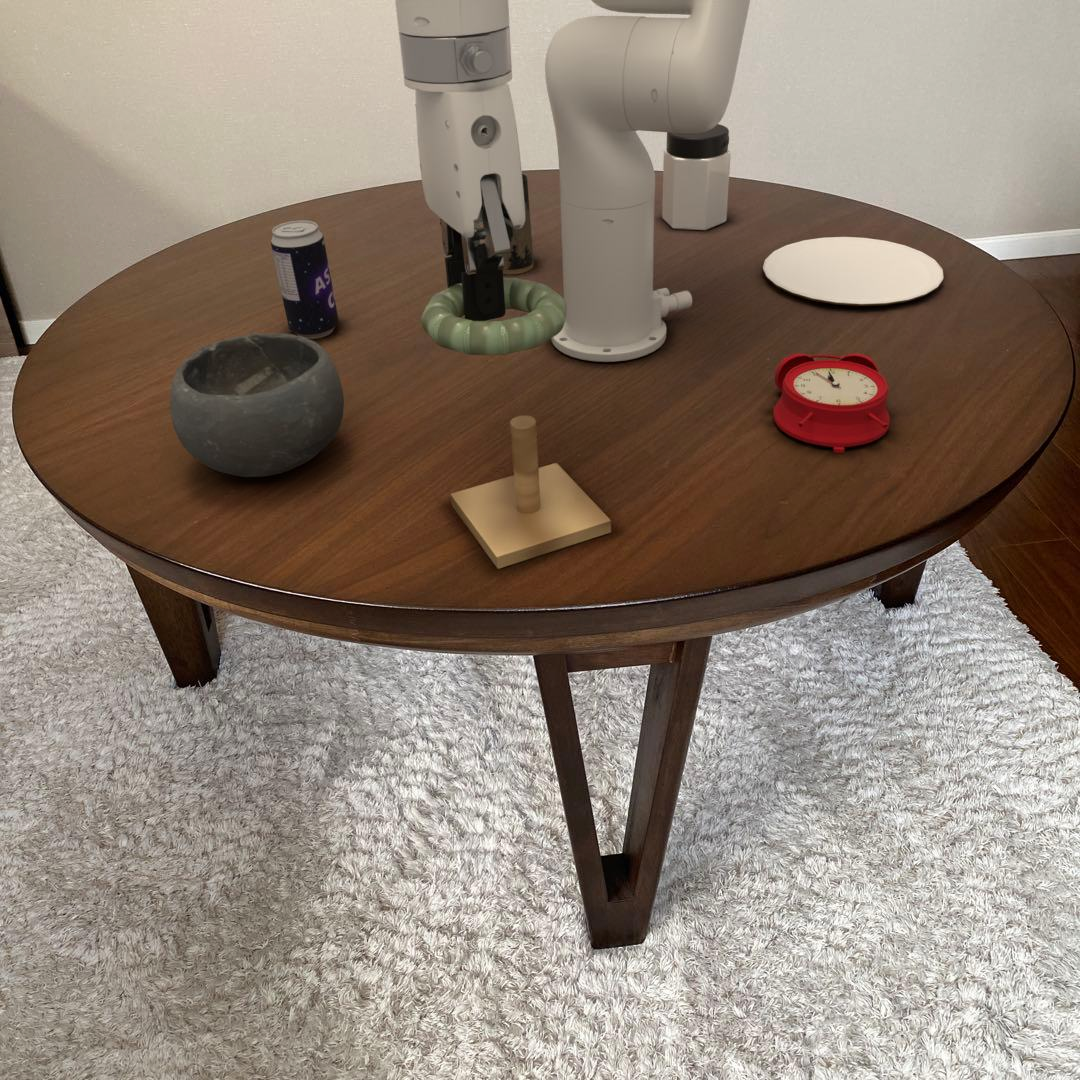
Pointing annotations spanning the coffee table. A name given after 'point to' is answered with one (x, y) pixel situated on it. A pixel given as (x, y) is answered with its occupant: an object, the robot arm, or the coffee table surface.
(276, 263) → the beverage can
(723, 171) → the jar
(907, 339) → the coffee table surface
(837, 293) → the plate
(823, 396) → the alarm clock
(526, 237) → the rusty spray can
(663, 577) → the coffee table surface
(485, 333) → the ring
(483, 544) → the stand
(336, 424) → the bowl
